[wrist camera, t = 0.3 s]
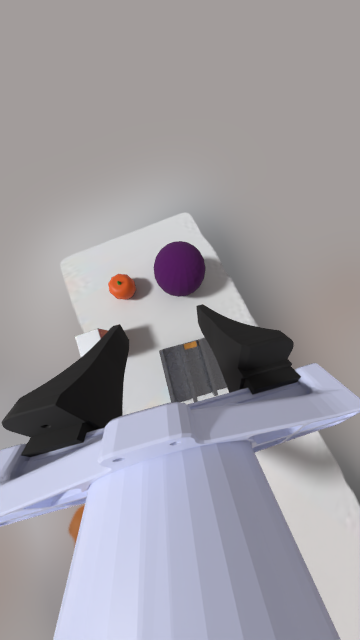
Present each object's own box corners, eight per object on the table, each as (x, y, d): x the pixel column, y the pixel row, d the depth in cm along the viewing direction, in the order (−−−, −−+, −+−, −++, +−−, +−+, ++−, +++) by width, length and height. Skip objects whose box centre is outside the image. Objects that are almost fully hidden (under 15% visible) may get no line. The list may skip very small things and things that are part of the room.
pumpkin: (142, 294, 44) (136, 285, 37) (120, 306, 43) (110, 298, 36) (131, 276, 45) (123, 264, 38) (110, 287, 44) (98, 276, 37)
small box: (123, 355, 40) (107, 360, 30) (105, 362, 40) (82, 369, 29) (116, 331, 42) (98, 327, 31) (98, 338, 41) (73, 336, 30)
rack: (231, 384, 41) (237, 388, 37) (172, 402, 39) (173, 409, 35) (216, 334, 43) (220, 333, 39) (160, 350, 41) (159, 350, 37)
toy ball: (148, 276, 45) (137, 244, 31) (183, 256, 48) (188, 217, 33) (172, 311, 44) (173, 295, 29) (207, 288, 46) (224, 262, 31)
